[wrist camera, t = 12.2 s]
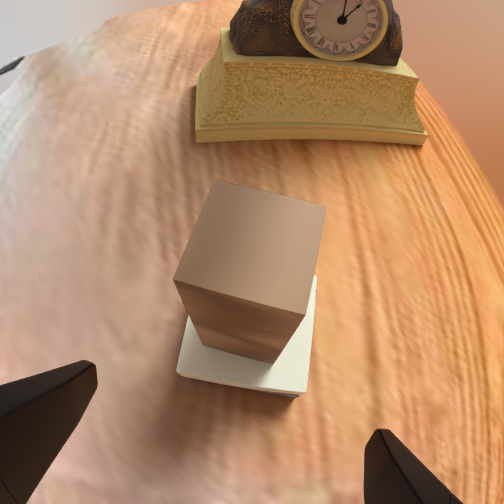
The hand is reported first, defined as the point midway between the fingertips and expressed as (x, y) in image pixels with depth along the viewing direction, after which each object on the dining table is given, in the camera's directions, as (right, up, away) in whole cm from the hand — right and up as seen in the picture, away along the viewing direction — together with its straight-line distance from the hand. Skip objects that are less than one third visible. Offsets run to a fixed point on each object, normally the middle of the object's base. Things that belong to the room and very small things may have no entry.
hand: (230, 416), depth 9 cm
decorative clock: (+8, +23, +29) cm, 38 cm away
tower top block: (0, -1, +13) cm, 13 cm away
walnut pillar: (0, 0, +12) cm, 12 cm away
